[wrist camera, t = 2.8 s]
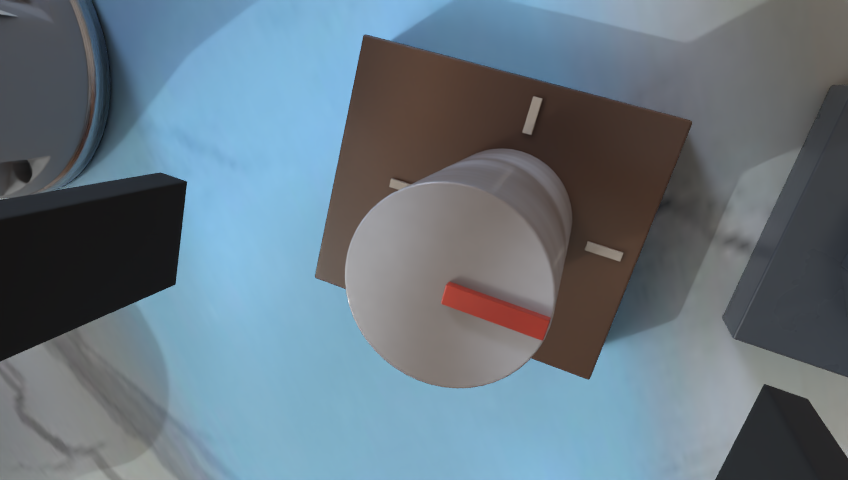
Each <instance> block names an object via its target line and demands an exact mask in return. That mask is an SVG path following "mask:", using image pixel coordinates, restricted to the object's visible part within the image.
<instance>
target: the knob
mask: <svg viewBox="0 0 848 480" xmlns="http://www.w3.org/2000/svg"><path fill="white" fill-rule="evenodd" d="M571 228H572V208H571V203H570V199H569V196H568V193H567V191H566V189H565V187H564V185H563V183H562V182H561V180H560V178H559V177H558V176H557V175H556V174H555V172H554V171H553V170H552V169H551V168H550V167H549V166H548V165H546V164H545V163H544V162H542V161H541V160H539V159H538V158H536V157H534V156H532V155H530V154H527V153H525V152H522V151H518V150H513V149H503V148H502V149H490V150H485V151H482V152H478V153H476V154H473V155H471V156H469V157H467V158H465V159H463V160H461V161H459V162H457V163H455V164H453V165H450V166H448V167H446V168H444V169H442V170H440V171H438V172H436V173H434V174H432V175H429V176H427V177H425V178H423V179H421V180H419V181H417V182H415V183H413V184H411V185H408V186H406V187H404V188H402V189H400V190H398V191H396V192H394V193H392V194H390V195H389V196H387V197H386V198H384V199H383V200H381V201H380V202H379V203H378V204H377V205H375V206H374V207H373V208H372V209H371V210H370V211H369V212H368V214H367V215H366V216H365V217H364V218H363V220H362V221H361V223H360V224H359V226H358V228H357V229H356V231H355V233H354V236H353V238H352V240H351V243H350V246H349V249H348V253H347V258H346V265H345V285H346V294H347V298H348V302H349V306H350V309H351V312H352V314H353V317H354V319H355V321H356V323H357V325H358V327H359V329H360V331H361V332H362V334H363V335H364V337H365V339H366V340H367V341H368V342H369V344H370V345H371V346H372V347H373V349H374V350H375V351H376V352H377V353H378V354H379V355H380V356H381V357H382V358H383V359H384V360H386V361H387V362H388V363H390V364H391V365H392V366H393V367H395V368H396V369H398V370H400V371H401V372H403V373H404V374H406V375H408V376H410V377H412V378H415V379H417V380H419V381H422V382H425V383H428V384H431V385H436V386H441V387H449V388H471V387H477V386H483V385H486V384H490V383H493V382H496V381H498V380H500V379H503V378H505V377H507V376H509V375H510V374H512V373H513V372H515V371H517V370H518V369H519V368H521V367H522V366H523V365H524V364H525V363H526V362H528V361H529V360H530V358H531V357H532V356H533V355H534V354H535V353H536V351H537V350H538V349H539V347H540V346H541V344H542V342H543V341H544V339H545V337H546V335H547V333H548V330H549V328H550V325H551V322H552V318H553V315H554V310H555V306H556V301H557V296H558V291H559V286H560V282H561V277H562V272H563V267H564V263H565V258H566V253H567V248H568V244H569V239H570V234H571Z"/></svg>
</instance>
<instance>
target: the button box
mask: <svg viewBox="0 0 848 480" xmlns="http://www.w3.org/2000/svg"><path fill="white" fill-rule="evenodd" d="M722 319H723V320H724V322H725V324H726V326H727V328H728V330H729V331H730V333H731V335H732V337H733V338H734V339H736V340H739V341H742V342H745V343H748V344H751V345H754V346H757V347H760V348H763V349H766V350H769V351H772V352H775V353H778V354H781V355H783V356H786V357H789V358H792V359H795V360H798V361H801V362H804V363H807V364H810V365H813V366H816V367H819V368H822V369H825V370H828V371H831V372H834V373H837V374H840V375H842V376H845V377H848V85H832V86H831V87H830V89H829V92H828V94H827V96H826V98H825V100H824V102H823V104H822V106H821V109H820V111H819V113H818V115H817V117H816V119H815V121H814V123H813V126H812V128H811V130H810V132H809V134H808V136H807V138H806V140H805V143H804V145H803V147H802V149H801V151H800V153H799V155H798V157H797V160H796V162H795V164H794V166H793V168H792V170H791V172H790V175H789V177H788V179H787V181H786V183H785V185H784V187H783V189H782V192H781V194H780V196H779V198H778V200H777V202H776V204H775V206H774V209H773V211H772V213H771V215H770V217H769V219H768V221H767V223H766V226H765V228H764V230H763V232H762V234H761V236H760V238H759V240H758V243H757V245H756V247H755V249H754V251H753V253H752V255H751V258H750V260H749V262H748V264H747V266H746V268H745V270H744V272H743V275H742V277H741V279H740V281H739V283H738V285H737V287H736V289H735V292H734V294H733V296H732V298H731V300H730V302H729V304H728V306H727V309H726V311H725V313H724V315H723V317H722Z"/></svg>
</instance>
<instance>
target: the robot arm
mask: <svg viewBox="0 0 848 480" xmlns="http://www.w3.org/2000/svg"><path fill="white" fill-rule="evenodd" d="M109 100H110V70H109V62H108V54H107V49H106V44H105V39H104V35H103V32H102V28H101V25H100V22H99V19H98V16H97V13H96V11H95V8H94V6H93V4H92V1H91V0H0V198H9V199H3V200H0V361H2V360H5V359H7V358H9V357H11V356H14V355H16V354H18V353H20V352H23V351H25V350H27V349H30V348H32V347H34V346H36V345H39V344H41V343H43V342H46V341H48V340H50V339H52V338H55V337H57V336H59V335H61V334H64V333H66V332H68V331H71V330H73V329H75V328H77V327H80V326H82V325H84V324H87V323H89V322H91V321H93V320H96V319H98V318H100V317H102V316H105V315H107V314H109V313H112V312H114V311H116V310H118V309H121V308H123V307H125V306H127V305H130V304H132V303H134V302H137V301H139V300H141V299H143V298H146V297H148V296H150V295H153V294H155V293H157V292H159V291H162V290H164V289H166V288H168V287H171V286H173V285H175V283H176V274H177V266H178V257H179V248H180V239H181V230H182V221H183V213H184V204H185V195H186V186H187V182H186V181H184V180H181V179H178V178H175V177H172V176H169V175H166V174H164V173H155V174H149V175H143V176H137V177H132V178H126V179H120V180H114V181H108V182H102V183H97V184H91V185H85V186H79V187H73V188H67V189H62V190H56V189H58V188H60V187H62V186H64V185H66V184H67V183H69V182H70V181H72V180H73V179H74V178H75V177H76V176H78V175H79V174H80V173H81V172H82V170H83V169H84V168H85V167H86V166H87V164H88V163H89V161H90V160H91V158H92V157H93V155H94V153H95V151H96V149H97V148H98V145H99V143H100V140H101V138H102V135H103V132H104V128H105V125H106V120H107V115H108V110H109ZM53 190H56V191H53ZM715 480H848V458H847V456H846V455H845V454H844V452H843V451H842V449H841V448H840V446H839V445H838V443H837V442H836V440H835V439H834V437H833V436H832V434H831V433H830V431H829V430H828V428H827V427H826V425H825V424H824V423H823V421H822V420H821V418H820V417H819V415H818V414H817V412H816V411H815V409H814V408H813V406H812V405H811V403H810V402H809V400H808V399H806V398H803V397H800V396H797V395H794V394H791V393H789V392H786V391H783V390H780V389H777V388H774V387H772V386H769V385H766V384H764V386H763V388H762V390H761V391H760V393H759V395H758V397H757V399H756V401H755V403H754V405H753V407H752V409H751V411H750V413H749V415H748V417H747V419H746V421H745V423H744V425H743V427H742V429H741V430H740V432H739V434H738V436H737V438H736V440H735V442H734V444H733V446H732V448H731V450H730V452H729V454H728V456H727V458H726V460H725V462H724V464H723V466H722V468H721V470H720V471H719V473H718V475H717V477H716V479H715Z"/></svg>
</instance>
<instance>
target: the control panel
mask: <svg viewBox="0 0 848 480" xmlns="http://www.w3.org/2000/svg"><path fill="white" fill-rule="evenodd" d="M691 125H692V121H690V120H687V119H683V118H680V117H676V116H672V115H669V114H665V113H661V112H657V111H654V110H650V109H646V108H642V107H638V106H635V105H631V104H627V103H623V102H620V101H616V100H612V99H608V98H605V97H601V96H597V95H593V94H589V93H586V92H582V91H578V90H574V89H571V88H567V87H563V86H559V85H555V84H552V83H548V82H544V81H540V80H537V79H533V78H529V77H525V76H521V75H518V74H514V73H510V72H506V71H503V70H499V69H495V68H491V67H487V66H484V65H480V64H476V63H472V62H469V61H465V60H461V59H457V58H453V57H450V56H446V55H442V54H438V53H435V52H431V51H427V50H423V49H420V48H416V47H412V46H408V45H404V44H401V43H397V42H393V41H389V40H385V39H381V38H378V37H374V36H370V35H364V36H363V41H362V46H361V51H360V55H359V60H358V65H357V70H356V75H355V80H354V85H353V90H352V95H351V100H350V105H349V110H348V115H347V120H346V125H345V130H344V135H343V140H342V145H341V150H340V155H339V160H338V165H337V170H336V175H335V180H334V184H333V189H332V194H331V199H330V204H329V209H328V214H327V219H326V224H325V229H324V234H323V239H322V244H321V249H320V254H319V259H318V264H317V269H316V274H315V278H317V279H320V280H323V281H326V282H328V283H331V284H334V285H336V286H339V287H342V288H344V289H346V285H345V265H346V258H347V253H348V249H349V246H350V243H351V240H352V238H353V236H354V233H355V231H356V229H357V228H358V226H359V224H360V223H361V221H362V220H363V218H364V217H365V216H366V215H367V214H368V212H369V211H370V210H371V209H372V208H373V207H374V206H375V205H377V204H378V203H379V202H380V201H381V200H383V199H384V198H386V197H387V196H389V195H390V194H392V193H394V192H396V191H398V190H400V189H402V188H404V187H406V186H408V185H411V184H413V183H415V182H417V181H419V180H421V179H423V178H425V177H427V176H429V175H432V174H434V173H436V172H438V171H440V170H442V169H444V168H446V167H448V166H450V165H453V164H455V163H457V162H459V161H461V160H463V159H465V158H467V157H469V156H471V155H473V154H476V153H478V152H482V151H485V150H490V149H502V148H503V149H513V150H518V151H522V152H525V153H527V154H530V155H532V156H534V157H536V158H538V159H539V160H541V161H542V162H544V163H545V164H546V165H548V166H549V167H550V168H551V169H552V170H553V171H554V172H555V174H556V175H557V176H558V177H559V178H560V180H561V182H562V183H563V185H564V187H565V189H566V191H567V193H568V196H569V199H570V203H571V208H572V228H571V234H570V239H569V244H568V248H567V253H566V258H565V263H564V267H563V272H562V277H561V282H560V286H559V291H558V296H557V301H556V306H555V310H554V315H553V318H552V322H551V325H550V328H549V330H548V333H547V335H546V337H545V339H544V341H543V342H542V344H541V346H540V347H539V349H538V350H537V351H536V353H535V354H534V355H533V356H532V357H531V358H532V359H535V360H537V361H540V362H543V363H545V364H548V365H551V366H553V367H556V368H559V369H561V370H564V371H567V372H569V373H572V374H575V375H577V376H580V377H583V378H585V379H590V377H591V375H592V372H593V370H594V367H595V365H596V362H597V360H598V357H599V355H600V352H601V350H602V347H603V345H604V342H605V340H606V337H607V335H608V332H609V330H610V327H611V325H612V322H613V320H614V317H615V315H616V312H617V310H618V307H619V305H620V302H621V300H622V297H623V295H624V292H625V290H626V287H627V285H628V282H629V280H630V277H631V275H632V272H633V270H634V267H635V265H636V262H637V260H638V257H639V255H640V252H641V250H642V247H643V245H644V242H645V240H646V237H647V235H648V232H649V230H650V227H651V225H652V222H653V220H654V217H655V215H656V212H657V210H658V207H659V205H660V203H661V200H662V198H663V195H664V193H665V190H666V188H667V185H668V183H669V180H670V178H671V175H672V173H673V170H674V168H675V165H676V163H677V160H678V158H679V155H680V153H681V150H682V148H683V145H684V143H685V140H686V138H687V135H688V133H689V130H690V128H691Z"/></svg>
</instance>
